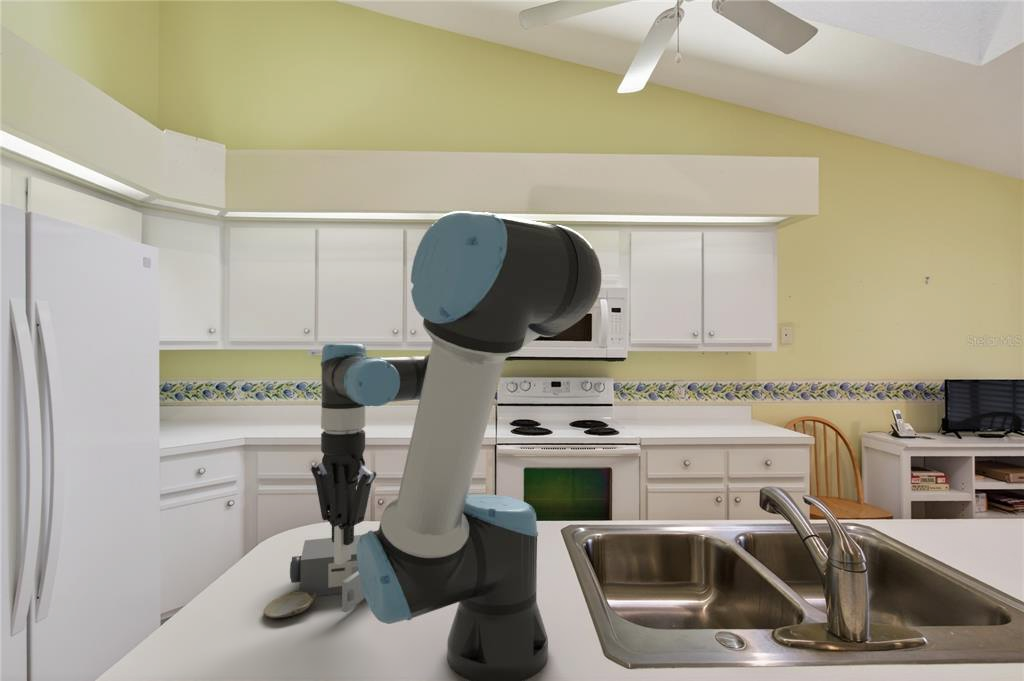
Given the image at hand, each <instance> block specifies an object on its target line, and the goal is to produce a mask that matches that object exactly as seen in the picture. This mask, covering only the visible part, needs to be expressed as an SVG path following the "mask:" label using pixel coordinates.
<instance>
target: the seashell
mask: <svg viewBox="0 0 1024 681" xmlns="http://www.w3.org/2000/svg"><path fill="white" fill-rule="evenodd" d="M315 595H316V593H315V594H309V593H306V592H301V590H300V591H299V590H298V591H294V592H289V593H286V594H283V595H279V597H277V598H275V599H273V600H272V601H270V602H268V603H267V604H266V605H265V607H264V608H263V615H264V616H265V617H266V618H273V619H280V618H281V619H282V618H289V617H293V616H295V615H298V614H301V613H303V612H304V611H306V610H308V608H309V607H310V606H311V605H312V604H313V602H314V599H315Z"/></svg>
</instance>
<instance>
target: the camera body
mask: <svg viewBox="0 0 1024 681" xmlns="http://www.w3.org/2000/svg"><path fill="white" fill-rule="evenodd" d="M361 535H362V534H354V541H353V543H351V559H350V560H348V561H347V562H345V563H343V564H341V565H339V564H335V563H334V542H332V537H323V538H317V539H315V538H314V539H305V540H304V542H303V548H302V553H301V555H297V556H296V555H295V556H291V561H290V563H289V578H290V582H291V583H290V584H294V583H295V584H296V583H300V591H301V592H306V593H309V594H315V593H316V595H315V597H316V598H317V597H323V596H331V595H340V594H342V582H343V581H344V580H346V579H347V578H348V577H350V576H351V575H353V574H354V573H356V572H357V571H358V565H357V543H358V540H359V538H360V536H361ZM315 597H314V598H315Z"/></svg>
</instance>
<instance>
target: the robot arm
mask: <svg viewBox="0 0 1024 681" xmlns="http://www.w3.org/2000/svg"><path fill="white" fill-rule="evenodd" d="M410 282H411V284H413V286H412V288H411V291H410V292H411V298H412V302H413V305H414V308H415V309H416V312H418V314H419V315H420V316H421V317H422V318H423V322H422V325H423V326H422V327H423V329H424V330H425V332H426V333H427V335H428V336H429V338H430V339H431V340H432V343H431V347H430V352H429V354H427V355H419V356H418V355H417V356H413V355H409V356H376V357H375V356H371V357H370V356H369V357H368V356H367V350H366V346H365V345H364V344H362V343H351V342H349V343H346V342H343V343H338V342H337V343H327V344H325V345H323V347H322V350H321V352H322V353H321V361H320V367H321V411H320V412H321V417H320V418H321V420H320V429H322V430H323V431H322V433H321V435H320V451H321V453H322V454H323V455H322V458H321V462H319V464H316V465H312V466H311V468H310V471H311V473H312V476H313V478H314V479H315V480H314V481H315V486H316V490H317V491H316V492H317V496H318V503H319V508H320V513H321V519H322V521H327V522H329V525H330V526H331V538H332V542H334V563H335V564H339V565H341V564H343V563H345V562H347V561H348V560H350V559H351V543H353V541H354V536H355V526H356V525H358V524H360V523H362V522H364V520H365V516H366V511H367V507H368V502H369V499H370V498H369V497H370V494H371V493H370V492H371V487H372V483H373V482H374V480H375V479H376V477H377V471H375V470H369V469H368V467H367V466H366V462H365V459H364V452H365V449H366V430H364V428H366V407H370V406H371V407H381V406H385V405H386V404H388V403H391V402H403V401H404V402H405V401H413V400H414V401H415V400H417V401H418V406H417V411H416V414H415V415H416V416H415V418H414V424H413V429H412V433H411V437H410V441H409V446H408V450H407V456H406V461H405V465H404V468H403V473H402V478H401V481H400V487H399V491H398V496H397V498H395V499H394V500H393V501H391V502H390V503H389V504H387V506H386V507H385V508H384V509H383V511H382V513H381V519H380V521H379V522H380V523H379V526H378V527H379V528H378V529H377V530H374V531H373V530H372V529H371V530H368V531H367V532H366V533H362V534H360V535H361V536H360V538H359V540H358V543H357V565H358V572H359V577H360V581H361V585H362V589H363V592H364V595H365V598H364V599H365V601H366V603H367V605H368V607H369V609H370V611H371V613H372V614H373V615H374V617H375V618H376V619H377V620H378V621H379V622H381V623H383V624H387V625H390V624H396V623H399V622H403V621H408V622H409V621H411V620H412V619H414V618H417V617H420V616H422V615H425V614H429V613H431V612H435V611H436V610H440V609H443V608H446V607H448V606H451V605H454V604H457V603H458V605H457V609H456V611H455V615H454V618H453V621H452V624H451V628H450V630H449V634H448V636H447V641H446V642H447V645H446V646H447V647H446V648H447V650H446V651H447V652H446V654H447V656H446V658H447V661H448V663H449V665H450V667H451V668H452V669H453V670H454V671H455V672H456V673H458V675H460V676H462V677H464V678H466V679H468V680H471V681H523V680H526V679H528V678H530V677H532V676H534V675H536V674H537V673H538V672H540V670H542V669H543V667H544V666H545V665H546V663H547V661H548V658H549V638H548V634H547V631H546V628H545V624H544V622H543V618H542V615H541V612H540V608H539V606H538V602H537V588H538V587H537V586H538V585H537V584H538V583H537V578H538V577H537V576H538V575H537V568H538V567H537V565H538V564H537V557H538V555H537V554H538V536H539V532H538V525H537V513H536V511H535V509H534V507H533V506H532V505H531V504H529V503H527V502H526V501H523V500H521V499H517V498H514V497H510V496H504V495H497V494H496V495H495V494H481V493H480V494H469V492H470V489H471V484H472V480H473V477H474V475H475V471H476V467H477V463H478V459H479V455H480V452H481V449H482V444H483V442H484V437H485V434H486V431H487V427H488V423H489V419H490V415H491V412H492V409H493V404H494V401H495V397H496V394H497V391H498V387H499V383H500V380H501V376H502V372H503V368H504V364H505V362H506V359H507V358H509V357H511V356H513V355H516V354H517V353H518V352H520V351H521V350H522V348H523V347H525V346H526V345H528V344H529V343H531V342H533V341H534V340H536V339H538V338H540V337H545V338H547V337H548V338H549V337H554V336H557V335H559V334H561V333H562V332H564V331H565V330H567V329H570V328H571V327H572V326H573V325H575V324H577V323H578V322H579V321H581V320H582V319H583V318H584V317H585V316H586V315H587V314H588V313H589V312H590V311H591V309H592V308H593V307H594V305H595V303H596V302H597V300H598V297H599V294H600V292H601V288H602V287H601V286H602V268H601V264H600V260H599V257H598V255H597V253H596V252H595V249H594V248H593V247H592V245H591V244H590V242H589V241H588V240H587V239H586V238H585V237H584V236H583V235H581V234H580V233H579V232H577V231H575V230H573V229H572V228H569V227H567V226H563V225H559V224H555V223H545V222H544V223H543V222H538V221H534V220H527V219H523V218H516V217H511V216H506V215H500V214H496V213H491V212H488V211H481V212H474V211H462V210H458V211H452V212H449V213H446V214H443V215H442V216H440V217H439V218H438V219H437V220H436V221H435V222H434V223H432V224H431V225H430V227H429V228H427V230H426V232H425V233H424V235H423V236H422V238H421V240H420V242H419V243H418V247H417V249H416V252H415V255H414V258H413V263H412V267H411V273H410Z"/></svg>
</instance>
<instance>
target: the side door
mask: <svg viewBox="0 0 1024 681" xmlns="http://www.w3.org/2000/svg"><path fill="white" fill-rule="evenodd" d="M341 594H342V595H341V598H342V600H341V607H342V608H341V609H342V612H345V613H348V612H349V611H351V610H352V609H353V608H354V607H356V606H357V605H358V604H359V603H361V602H362V601H363V600H364V599H366V598H365V595H364V592H363V589H362V585H361V581H360V577H359V572H358V571H357V572H356V573H354V574H353V575H351V576H350V577H348V578H347V579H346V580H344V581H343V582H342V593H341Z"/></svg>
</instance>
